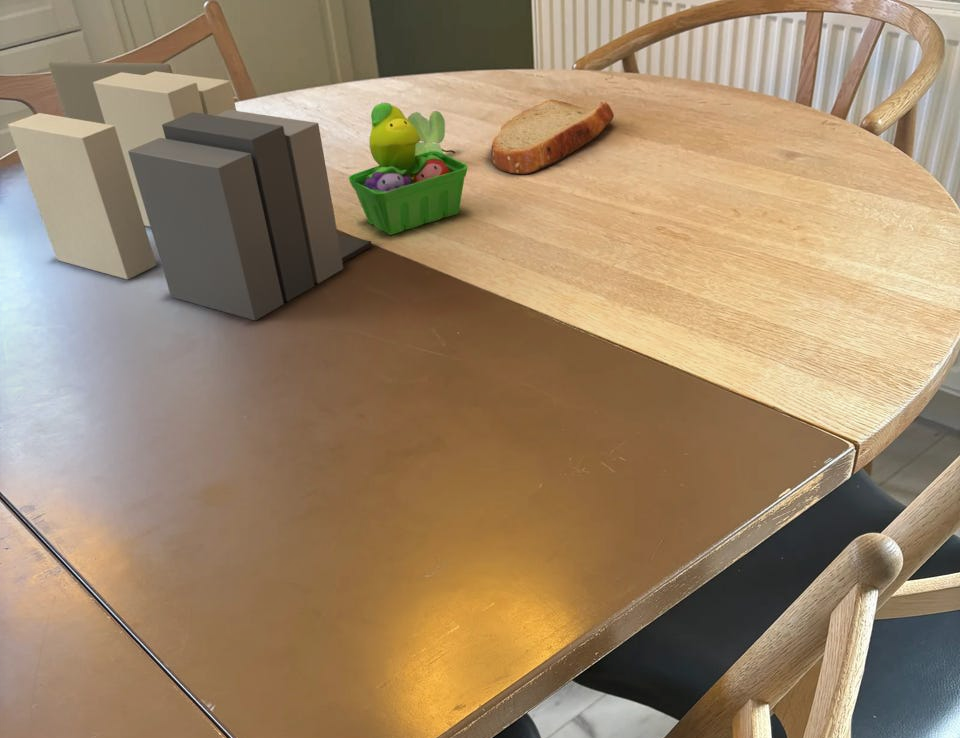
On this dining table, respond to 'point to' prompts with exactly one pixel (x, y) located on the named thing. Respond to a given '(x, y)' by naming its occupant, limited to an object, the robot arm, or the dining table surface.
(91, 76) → the laptop
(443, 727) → the dining table surface
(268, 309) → the grey books
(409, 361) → the dining table surface
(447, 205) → the fruit basket
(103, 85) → the white books
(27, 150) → the white book
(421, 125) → the seedling
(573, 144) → the bread slice
